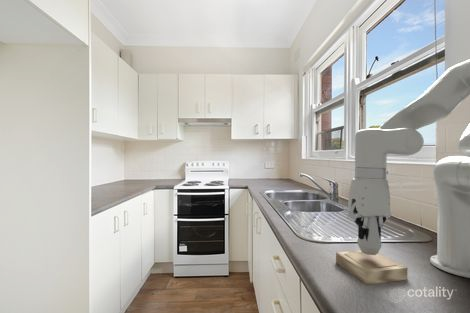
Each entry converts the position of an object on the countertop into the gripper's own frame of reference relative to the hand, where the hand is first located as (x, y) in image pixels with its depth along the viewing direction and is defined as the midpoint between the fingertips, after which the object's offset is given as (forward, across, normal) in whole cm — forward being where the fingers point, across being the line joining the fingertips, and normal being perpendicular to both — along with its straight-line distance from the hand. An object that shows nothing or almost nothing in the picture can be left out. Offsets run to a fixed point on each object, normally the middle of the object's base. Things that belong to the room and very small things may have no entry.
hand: (369, 240), depth 64 cm
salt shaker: (+3, 0, 0) cm, 3 cm away
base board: (+8, 0, 0) cm, 8 cm away
